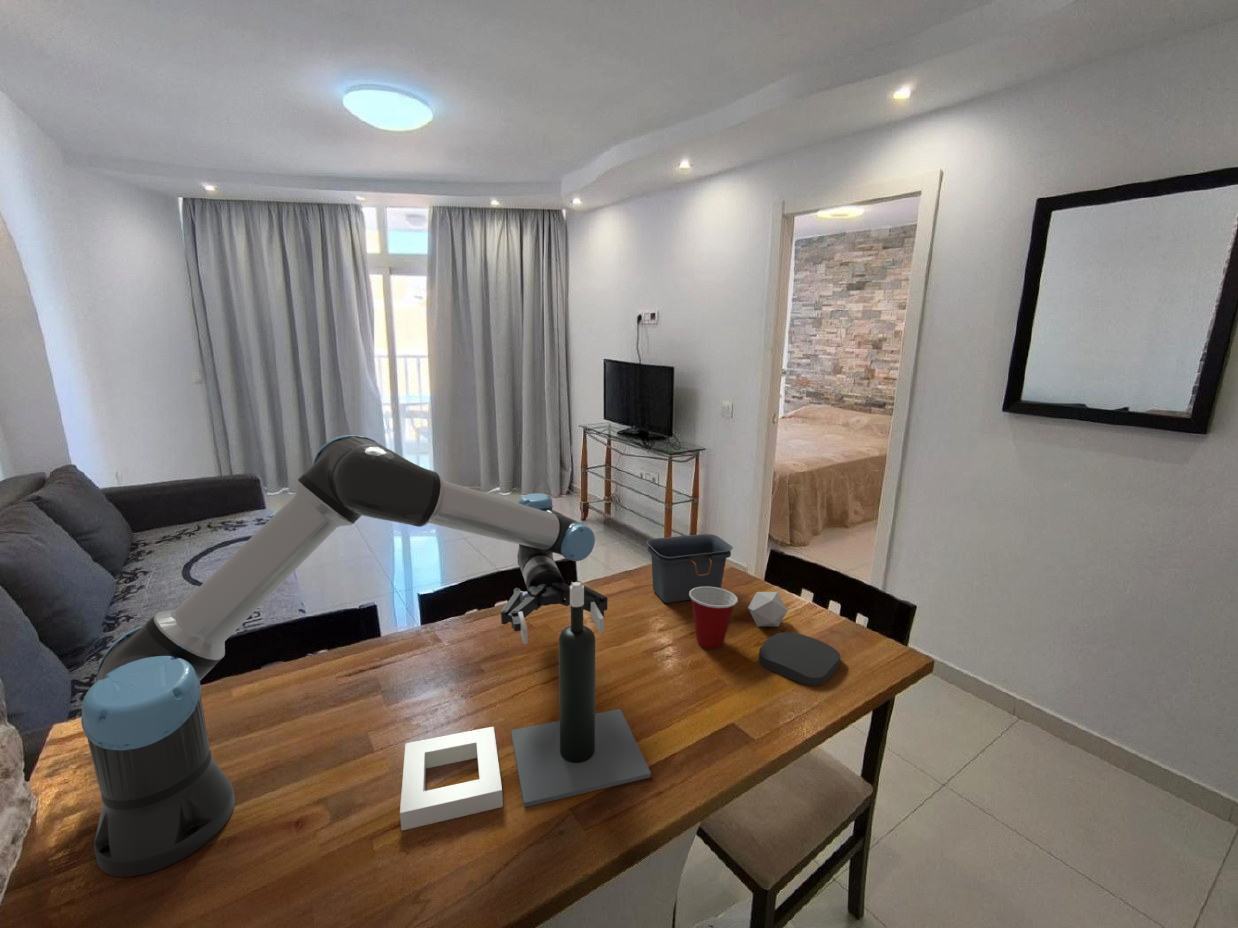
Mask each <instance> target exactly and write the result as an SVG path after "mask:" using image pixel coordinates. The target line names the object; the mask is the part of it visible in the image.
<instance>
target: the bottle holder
mask: <svg viewBox="0 0 1238 928" xmlns="http://www.w3.org/2000/svg"><path fill="white" fill-rule="evenodd" d="M495 735H496V734H495V727H494V726H489V727H488V726H487V727H484V728H479V729H478V728H477V729H473V730H469V731H464V732H458V733H452V734H446V735H443V736H442V735H441V736H437V737H431V738H426V739H423V740H422V739H421V740H416V741H411V742H407V743H406V742H405V745H404V746H405V747H404V749H405V750H404V758H403V771H402V772H403V773H402V782H401V785H402V786H401V794H400V806H399V817H400V819H399V820H400V830H401V831H405V830H411V829H415V828H418V827H423V826H427V825H428V826H429V825H431V824H436V823H439V822H441V823H442V822H444V821H449V820H453V819H458V818H462V817H465V816H469V815H475V814H478V813H482V812H487V811H490V810H495V809H500V808H503V807H504V805H503V804H504V803H503V789H502V779H501V771H500V765H499V758H498V757H499V756H498V749H497V742H496V736H495ZM473 759H477V761H476V762H477V769H478V779H473V780H469V781H465V782H461V783H456V784H450V785H446V786H442V787H438V788H432V789H428V790H426V779H427V777H426V774H427V773H426V772H427V769H432V768H434V767H435V768H436V767H439V766H444V765H449V764H455V763H460V762H463V761H469V760H473Z"/></svg>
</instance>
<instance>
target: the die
mask: <svg viewBox="0 0 1238 928" xmlns="http://www.w3.org/2000/svg"><path fill="white" fill-rule="evenodd" d="M747 609H748V611H749V612H750V615H751V617H752V618H753V621H754V623H755V625H756V626H757V627H758V628H759V627H760V628H761V627H768V628H770V627H773V628H774V627H775V628H776V627H779V626H780V624H781V623H782V621H783V619H784V617H785V616H786V614H787V612H788V608H787V607H786V605H785V603H784V601H783V599H782V598H781V596H780V594H779V592H778V591H756V592H755V594H754V596H753V598H752V599H751V601H750V604H749V605H748V607H747Z"/></svg>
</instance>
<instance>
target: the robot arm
mask: <svg viewBox="0 0 1238 928" xmlns="http://www.w3.org/2000/svg"><path fill="white" fill-rule="evenodd" d="M295 482H296V483H295V486H296V487H295V489H296V490H295V495H294V496H293V497H292V498H291V499H290V500H289V501H287V502H286V503H285V504H284V506H282V507H281V508H280V509H279V510H278V511H277V512H276V513H275V514H274V515H272V517H271V518H270V519H269V520H268V521H267V522H266V523H265V524H263V526H262V527H261V528H259V529H258V530H257V531H256V533H254V534H253V535H252V536H251V537H249V539H248V540H247V541H246V542H245V543H244V544H242V546H241V547H239V549H238V550H237V551H235V552H234V553H233V554H232V555H231V556H230V557H229V558H228V559H227V560H226V561H225V562H224V563H222V565H221V566H220V567H218V569H216V571H215V572H213V573H212V574H211V575H210V576H209V577H208V578H207V579H206V580H205V581H204V582H203V583H202V584H201V585H200V586H199V587H198V588H197V589H196V590H195V591H194V592H193V593H192V594H191V595H189V597H187V598H186V600H184V601H183V602H182V603H181V604H180V605H179V606H178V607H176V609H173V610H172V609H171V610H164V611H163V610H161V611H158V612H156V613H155V614H154V615H153V616H152V617H151V618H150V619H149V620H148V621H147V622H146V623H145V624H144V625H141V626H138V627H135V628H133V629H131V630H128V631H127V632H125V633H124V634H122V635H121V636H120V637H119V638H117V639H116V640H115V641H114V642H113V643H112V644H111V645H110V646H109V648H108V649H107V650H106V652H105V654H104V655H103V656H102V658H101V660H100V662H99V666H98V668H97V670H96V671H97V672H96V677H95V682H94V683H93V684H92V686H91V687H90V688H89V689H88V691H87V692H86V693H85V695H84V698H83V699H82V703H81V720H80V721H81V727H82V731H83V732H84V734H85V737H86V739H87V742H88V746H89V751H90V755H91V760H92V764H93V769H94V771H95V772H94V773H95V774H96V775H95V776H96V780H97V784H98V789H99V792H100V795H101V801H102V806H101V810H100V815H99V819H98V824H97V828H96V833H95V836H94V837H95V838H94V841H93V849H94V850H93V851H94V855H95V858H96V863H97V866H98V868H99V869H100V870H101V871H102V872H104V873H105V874H107V875H110V876H111V877H112V876H114V877H118V878H119V877H122V878H125V877H136V876H141V875H147V874H149V873H150V874H151V873H153V872H156V871H160V870H162V869H165V868H167V867H169V866H172V865H174V864H177V863H178V862H180V861H181V860H183V859H185V858H187V857H189V856H190V855H192V854H194V853H195V852H196V851H198V850H199V849H201V848H202V847H203V846H205V845H206V844H207V843H208V842H209V841H210V840H212V839H213V838H215V836H216V835H218V833H219V832H220V831H221V830H222V829H223V828H224V826H225V825H226V824H227V823H228V821H229V819H230V817H231V816H232V814H233V811H234V808H235V802H236V799H235V792H234V787H233V783H232V782H231V781H230V779H229V778H228V776H226V774H225V773H224V771H223V770H222V769H221V768H220V766H219V765H218V764H217V762H216V761H215V760H214V759H213V756H212V753H211V752H212V751H211V747H210V741H209V735H208V731H207V729H208V728H207V725H206V720H205V719H206V717H205V714H204V713H205V712H204V706H203V701H202V694H201V693H202V691H201V681H202V679H203V678H204V677H205V676H207V675H208V673H209V672H210V671H211V670H213V668H215V666H216V665H217V664H218V663H219V662H220V661H221V660H222V659H223V658H224V657H225V655H226V649H225V647H226V645H225V644H226V643H225V641H227V639H229V637H231V636H232V635H233V633H235V631H237V629H239V627H241V626H242V625H243V624H244V623H245V622H246V620H248V618H249V617H250V616H251V615H253V613H255V611H256V610H257V609H258V608H260V607H261V605H262V604H263V603H264V602H265V601H266V600H267V599H268V598H269V597H270V596H272V594H273V593H274V592H275V591H276V590H277V589H278V588H279V587H280V586H281V585H282V584H283V583H284V582H285V581H286V580H287V579H288V578H289V577H290V576H291V575H292V574H293V573H294V572H295V571H296V570H297V568H299V567H300V566H301V565H302V564H303V563H304V561H306V560H307V559H308V558H309V557H310V556H311V554H313V552H314V551H316V550H317V549H318V548H319V546H320V545H321V544H322V543H324V541H326V539H327V538H328V537H329V536H330V535H331V534H332V533H333V532H335V530H336V529H337V528H340V527H346V526H353V525H354V524H355V523H356V522H357V521H358V520H359V519H360V518H361V517H362V516H363V517H368V518H373V519H378V520H382V521H383V520H384V521H387V522H388V521H389V522H394V523H399V524H404V525H410V526H414V527H418V528H422V527H424V526H427V525H428V524H432V525H436V526H441V527H445V528H449V529H453V530H454V529H455V530H457V531H462V532H466V533H470V534H473V535H474V534H475V535H479V536H483V537H487V538H492V539H496V540H500V541H504V542H509V543H513V544H517V545H518V550H517V566H519V569H520V571H521V574H522V577H523V579H524V583H525V587H526V589H527V591H522V590H521V589H520V588H519V587H515V588H514V589H513V594H512V596H511V597H510V598H509V600H508V601H507V602H506V604H505V605H504V606H503V608H502V609H501V610H500V620H501V622H500V623H501V624H502V625H507V624H509V623H511V629H513V631H514V632H520V636H521V639H522V640H521V641H522V644H523V645H526V644H528V643H529V642H528V641H529V639H528V637H529V636H528V634H529V633H528V626H527V623H526V620H525V618H526V617H528V616H529V615H530V614H532V613H533V612H534V611H538V609H540V608H541V607H543V606H551V605H562V606H565V607H569V606H571V605H570V586H571V585H570V586H569V585H568V584H567V583H565V581H564V578H563V576H562V574H561V572H560V570H559V568H558V566H557V563H556V562H555V560H554V556H553V554H557V555H561V556H562V557H563V558H564V559H566V560H570V561H573V562H580V561H584V560H585V559H586V558H588V557H589V556H590V555H591V553H592V552H593V549H594V546H595V544H596V537H595V533H594V531H593V529H592V528H590V527H589V526H587V525H585V524H584V522H581V521H577V520H575V519H573V518H571V517H568V516H567V515H563V514H562V513H560V512H558V511H555V510H554V509H553V508H554V505H553V499H552V497H551V495H549V494H546V493H541V492H539V493H538V492H537V493H527V494H524V495H522V496H520V498H519V500H518V502H515V501H512V500H509V499H506V498H502V497H499V496H496V495H492V494H489V493H487V492H483V491H479V490H476V489H472V488H470V487H466V486H463V485H459V484H455V483H453V482H450V481H446V480H443V479H442V476H441V475H440V473H439V472H437V471H434V470H431V469H428V468H424V467H422V466H420V465H417V464H416V463H413V462H411V461H410V460H408V459H406V458H404V456H403V457H402V456H401V455H399V454H398V453H396V452H395V451H393V450H391V449H390V448H387V447H385V446H383V445H382V444H381V443H379V442H377V441H376V440H374V439H372V438H369V437H367V436H364V435H363V436H362V435H357V434H356V435H355V434H354V435H353V434H351V435H350V434H348V435H347V434H346V435H345V434H344V435H340V436H337V437H334V438H332V439H331V440H329V441H327V442H325V443H324V444H323V445H322V446H321V447H320V448H319V450H318V451H317V453H316V455H315V456H314V460H313V464H312V465H311V466H310V467H309V468H308V469H307V470H306V471H305V472H304V473H303V474H302V475H301V476H300V477H299V478H298V479H297V480H296V481H295ZM575 582H581V581H580V580H578V581H575ZM582 585H584V584H583V583H582ZM608 601H609V600H608V596H606V595H604V594H602V593H600V592H598V591H596V590H595V589H592V588H590V587H588V586H586V585H584V605H583V611H587V612H590V617H591V619H592V621H593V623H594V625H595V626H596V628H597V630H598V633H604V632H605V630H604V629H605V627H604V625H605V624H604V623H605V612H606V611H607V610H608Z"/></svg>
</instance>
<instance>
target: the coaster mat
mask: <svg viewBox="0 0 1238 928" xmlns="http://www.w3.org/2000/svg"><path fill="white" fill-rule="evenodd" d="M510 736H511V742H512V747H513V753H514V758H515V763H516V770H517V775H518V781H519V786H520V793H521V796H522V797H521V798H522V804H523V808H528V807H531V806H536V805H540V804H544V803H549V802H552V801H558V800H562V799H565V798H569V797H574V796H579V795H582V794H585V793H590V792H594V791H600V790H603V789H608V788H612V787H615V786H616V787H617V786H619V785H620V786H621V785H624V784H628V783H632V782H637V781H641V780H645V779H646V780H647V779H650V778H652V772H651V770H650V768H649V766H648V763H647V762H646V760H645V757H644V755H643V753H642V751H641V749H640V747H639V744H638V743H637V741H636V739H635V736H634V735H633V732H632V730H631V728H630V726H629V724H628V721H627V720H626V718H625V715H624V713H623V711H622V709H621V708H618V709H617V708H616V709H613V710H612V709H611V710H608V711H602V712H601V711H600V712H598V713H596V712H595V752H594V754H593V756H592V757H591V758H590V759H589V760H587V761H585V762H581V763H572V762H569V761H566V760H565V759H564V758H563V757H562V756H561V754H560V720H557V721H552V722H546V723H540V724H536V725H530V726H526V727H522V728H516V729H511V730H510Z"/></svg>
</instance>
